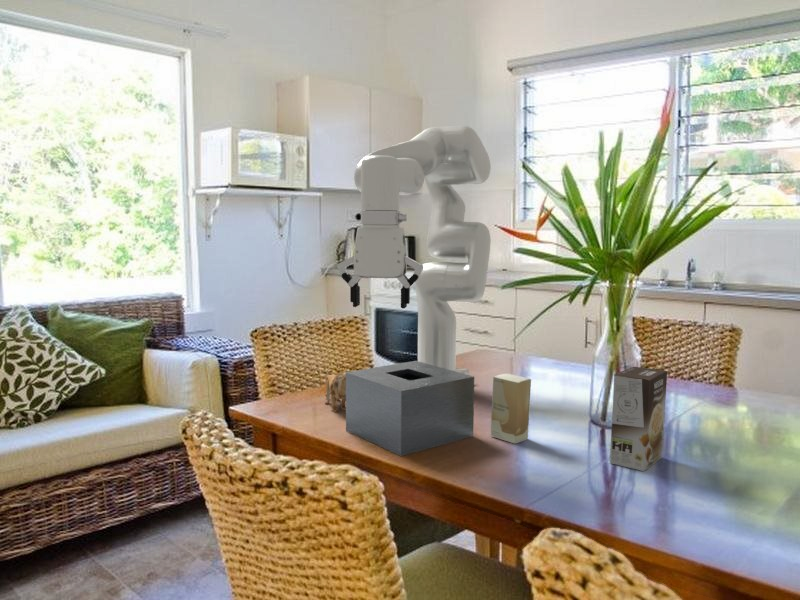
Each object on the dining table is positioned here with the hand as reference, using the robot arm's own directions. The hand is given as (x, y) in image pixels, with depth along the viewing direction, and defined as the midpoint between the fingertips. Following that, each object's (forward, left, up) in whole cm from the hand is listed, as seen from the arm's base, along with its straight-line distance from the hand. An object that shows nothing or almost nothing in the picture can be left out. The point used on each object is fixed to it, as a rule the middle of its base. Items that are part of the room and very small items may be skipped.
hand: (380, 306), depth 134 cm
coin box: (-3, +6, -25) cm, 26 cm away
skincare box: (-17, +20, -25) cm, 36 cm away
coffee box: (-26, +42, -25) cm, 55 cm away
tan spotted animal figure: (-2, -18, -25) cm, 31 cm away
